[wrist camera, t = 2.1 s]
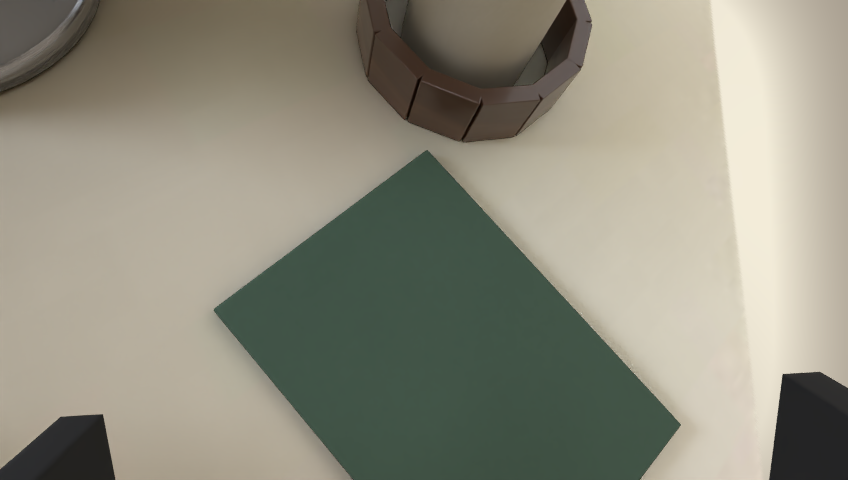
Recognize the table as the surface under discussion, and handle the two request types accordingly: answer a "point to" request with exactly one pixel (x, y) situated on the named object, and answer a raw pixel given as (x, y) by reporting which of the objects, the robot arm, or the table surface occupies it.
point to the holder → (458, 101)
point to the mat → (442, 348)
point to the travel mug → (478, 36)
